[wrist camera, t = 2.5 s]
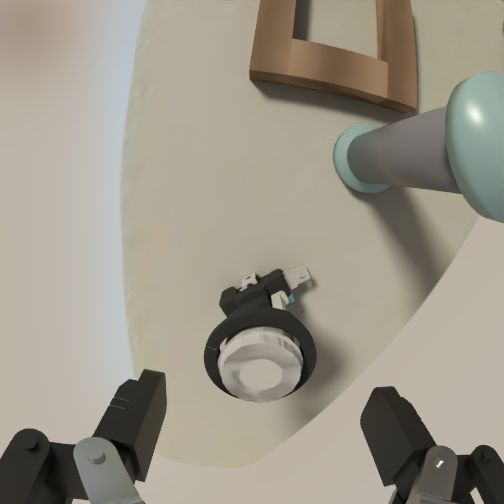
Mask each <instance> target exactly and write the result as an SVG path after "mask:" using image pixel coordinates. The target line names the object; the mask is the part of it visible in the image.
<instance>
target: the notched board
mask: <svg viewBox="0 0 504 504" xmlns="http://www.w3.org/2000/svg"><path fill="white" fill-rule="evenodd" d="M295 7H296V0H260V6H259V12H258V18H257V24H256V30H255V36H254V43H253V49H252V56H251V62H250V69H249V75H250V80H258V81H266V82H274V83H281V84H287V85H294V86H300V87H305V88H311V89H316V90H321V91H325V92H330V93H334V94H339V95H343V96H347V97H351V98H355V99H359V100H363V101H366V102H370V103H373V104H377V105H380V106H383V107H387V108H390V109H393V110H396V111H399V112H402V113H406V112H409V111H411V110H414V109H417V68H416V48H415V35H414V25H413V16H412V8H411V2H410V0H376V13H377V43H378V59H375V58H372V57H369V56H366V55H362V54H359V53H355V52H352V51H348V50H344V49H340V48H336V47H332V46H328V45H323V44H319V43H314V42H309V41H304V40H298V39H292V35H293V26H294V16H295Z"/></svg>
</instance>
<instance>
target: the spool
mask: <svg viewBox="0 0 504 504" xmlns="http://www.w3.org/2000/svg"><path fill="white" fill-rule="evenodd" d="M333 161H334V166H335V169H336V172H337V174H338V176H339V177H340V179H341V180H342V181H343V182H344V183H345V184H346V185H347V186H348V187H350V188H351V189H353V190H355V191H358V192H363V193H370V194H372V193H379V192H382V191H384V190H386V189H388V188H389V187H390V186H391V185H392V186H402V187H411V188H420V189H428V190H436V191H444V192H451V193H458V194H462V195H463V196H464V198H465V199H466V201H467V202H468V203H469V205H470V206H471V207H472V208H473V209H474V210H475V211H476V212H477V213H478V214H480V215H481V216H483V217H485V218H488V219H491V220H495V221H499V222H502V223H504V76H503V75H501V74H499V73H495V72H486V73H482V74H479V75H477V76H474V77H471V78H468V79H465V80H464V81H462V82H460V83H459V84H458V85H457V86H456V87H455V88H454V90H453V91H452V93H451V95H450V98H449V101H448V104H447V106H445V107H442V108H438V109H435V110H432V111H428V112H425V113H422V114H419V115H416V116H413V117H410V118H406V119H403V120H400V121H397V122H394V123H392V124H389V125H386V126H383V127H378V126H376V125H372V124H360V125H356V126H354V127H352V128H350V129H348V130H346V131H345V132H343V133H342V134H341V135H340V137H339V138H338V140H337V142H336V144H335V147H334V151H333Z"/></svg>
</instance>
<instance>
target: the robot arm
mask: <svg viewBox="0 0 504 504" xmlns="http://www.w3.org/2000/svg"><path fill="white" fill-rule="evenodd" d="M503 29H504V23H503ZM166 407H167V398H166V380H165V373H163V372H158V371H153V370H148V369H144V370H143V372H142V374H141V376H140V378H139V380H138V381H136V380H131V379H129V380H127V381H126V382H125V383H123V384H122V385H121V386H119V388H118V390H117V392H116V394H115V396H114V398H113V399H112V401H111V403H110V406H108V408H107V410H106V412H105V414H104V416H103V417H102V419H101V421H100V423H99V425H98V427H97V429H96V430H95V433H94V434H93V436H92V437H90V438H85V439H83V440H81V441H80V442H78V443H77V444H74V445H72V444H62V443H55V442H49V440H48V438H47V437H46V436H45V435H44V434H43V433H42V432H40V431H38V430H36V429H23V430H21V431H19V432H18V433H17V434H15V436H14V437H13V439H12V440H11V442H10V444H9V445H8V447H7V448H6V450H5V452H4V453H3V455H2V457H1V459H0V504H72V501H73V498H74V499H83V500H89V501H90V503H91V504H145V503H144V502H143V500H142V499H141V497H140V495H139V493H138V492H137V490H136V488H135V486H134V484H135V480H138V481H142V482H145V479H146V476H147V473H148V469H149V466H150V463H151V459H152V456H153V453H154V449H155V446H156V443H157V440H158V436H159V433H160V430H161V427H162V424H163V421H164V417H165V414H166ZM360 422H361V423H360V424H361V428H362V431H363V433H364V436H365V438H366V441H367V443H368V446H369V448H370V451H371V453H372V456H373V458H374V461H375V464H376V466H377V469H378V472H379V474H380V477H381V480H382V482H383V485H384V486H389V485H394V484H395V485H396V489H395V490H394V492H393V494H392V496H391V498H390V501H389V503H388V504H475V503H474V501H473V498H472V496H471V494H470V492H471V491H472V490H473V489H474V488H475V487H476V488H477V489H478V492H479V494H480V496H481V498H482V500H483V502H484V504H504V463H503V462H502V460H501V458H500V457H499V455H498V454H497V452H496V451H495V450H494V449H493V448H492V447H490V446H487V445H480V446H478V447H476V449H475V450H474V451H473V452H472V453H471V454H470V455H456V454H455V453H454V451H452V450H451V449H450V448H448V447H445V446H437V445H436V443H435V441H434V440H433V438H432V436H431V435H430V433H429V431H428V430H427V428H426V427H425V425H424V423H423V422H421V418H420V417H419V415H417V412H416V410H415V409H414V407H413V406H412V404H411V403H409V402H408V401H407V400H406V399H405V398H403V397H400V395H399V394H398V392H397V390H396V389H395V388H394V387H392V386H389V387H376V388H375V389H374V390H373V391H372V393H371V395H370V398H369V400H368V402H367V404H366V406H365V408H364V410H363V412H362V415H361V419H360Z"/></svg>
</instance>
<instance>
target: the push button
mask: <svg viewBox="0 0 504 504" xmlns="http://www.w3.org/2000/svg"><path fill="white" fill-rule="evenodd" d="M300 269H301V271H299V272H298V270H300ZM303 276H305V278H303V279H301V277H303ZM249 277H250V278H249ZM310 277H311V276H310V274H309V272H308V270H307V269H306V267H305V265H301V266H299V267H297V268H295V269H293V270H291V271H290V269H289V270H287V271H285V272H282V270H281V269H276V270H274V271H272V272H271V273H270V274H268V275H266V276H264V277H261V278H259V279H257V280H256V279H255V278H256V273H252V274H250V275H248V276H246V277H244V278H243V279H242V283H241V284H242V285H241V286H242V287H241V288H239V289H237V290H235V288H234V287H230V288H228V289H226V290H224V291H223V292H222V295H221V299H220V303H219V305H220V307H221V309H222V310H223V312H224V313H225V315H226V317H227V318H226V319H225V320H224V321H223V322H221V323H220V324H219V325H218V326H217V327H216V328H215V329H214V330H213V332H212V333H211V335H210V336H209V338H208V341H207V343H206V347H205V351H204V364H205V368H206V371H207V373H208V375H209V377H210V379H211V380H212V381H213V383H214V384H215V385H216V386H217V387H219V388H220V389H221V390H222V391H224V392H225V393H227V394H229V395H231V396H233V397H236V398H239V399H242V400H244V401H250V402H257V403H264V402H269V401H274V400H278V399H280V398H283V397H285V396H287V395H289V394H291V393H293V392H295V391H296V390H298V389H299V388H300V387H301V386H302V385H303V384H304V383H305V382H306V381H307V380H308V379H309V377H310V376H311V374H312V372H313V370H314V367H315V364H316V348H315V344H314V341H313V339H312V336H311V335H310V333H309V331H308V330H307V329H306V327H305V326H304V325H303V324H302V323H301V322H300V321H299V320H298V319H297V318H295V317H294V316H293V315H292V314H291V313H290V312H289V311H287V309H286V306H287V305H289V304H291V303H293V302H294V300H295V299H294V297H293V294H292V291H291V290H292V289H294V288H296V287H298V284H300V283H302V282H304V281H306V280H308V279H310ZM247 278H249V279H247ZM293 336H294V337H295V338H296V339H297V340H298V341H299V342H300V347H299V348H298V346H297V345H296V344H295V343H294V338H293ZM226 337H227V339H226V343H225V346H224V347H223V349H222V350H221V352H220V345H221V343H222V342H223V341H224V339H225V338H226Z"/></svg>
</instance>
